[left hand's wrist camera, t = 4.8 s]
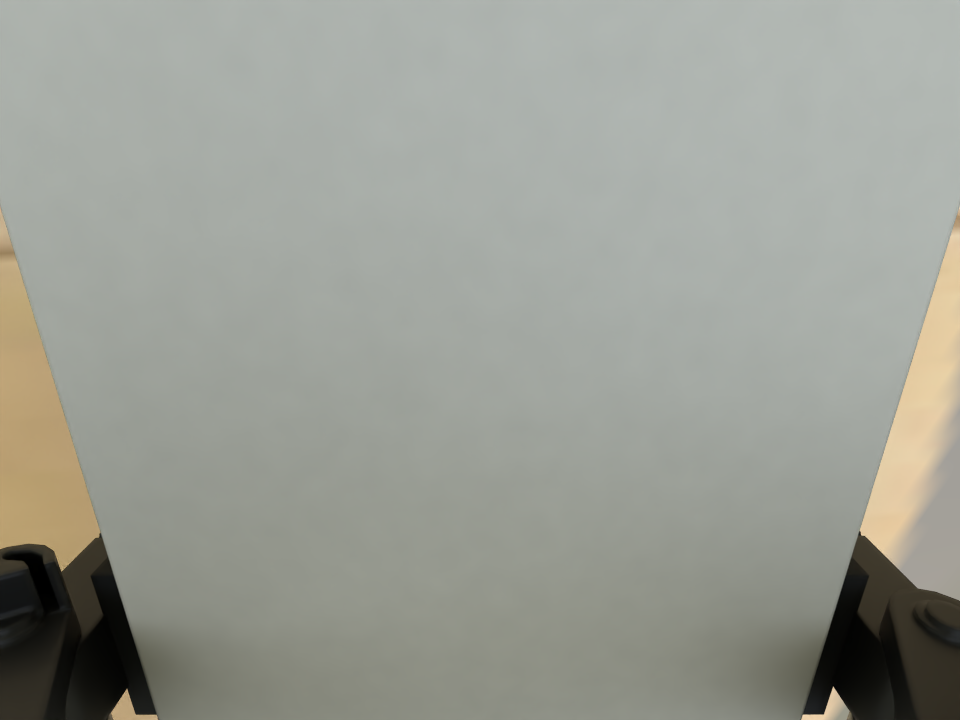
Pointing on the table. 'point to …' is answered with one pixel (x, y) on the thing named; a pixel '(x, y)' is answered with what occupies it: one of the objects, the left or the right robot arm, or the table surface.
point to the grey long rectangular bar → (479, 334)
